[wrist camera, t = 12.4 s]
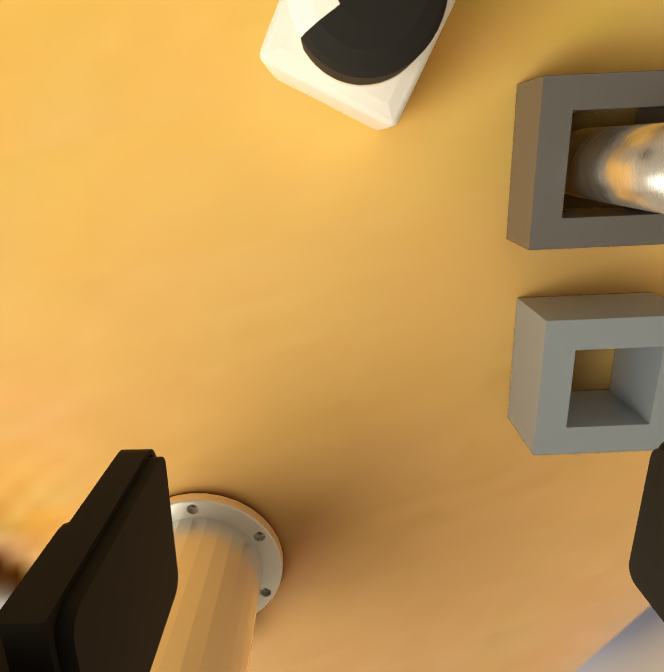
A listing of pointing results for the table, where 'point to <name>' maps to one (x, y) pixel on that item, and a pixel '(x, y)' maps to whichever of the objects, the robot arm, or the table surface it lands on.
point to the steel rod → (618, 165)
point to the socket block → (557, 371)
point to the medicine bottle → (354, 52)
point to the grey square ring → (552, 157)
